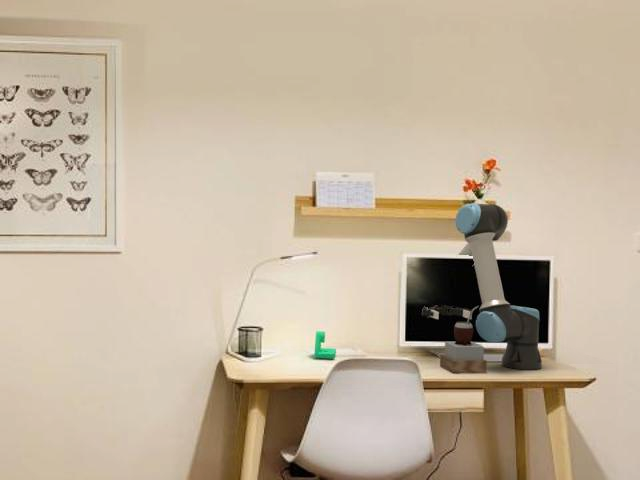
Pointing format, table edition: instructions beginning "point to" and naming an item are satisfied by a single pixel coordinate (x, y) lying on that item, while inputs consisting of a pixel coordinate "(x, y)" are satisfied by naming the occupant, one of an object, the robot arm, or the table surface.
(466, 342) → the mate gourd
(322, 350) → the camera mount
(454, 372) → the tower base
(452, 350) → the tower top
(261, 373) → the table surface
